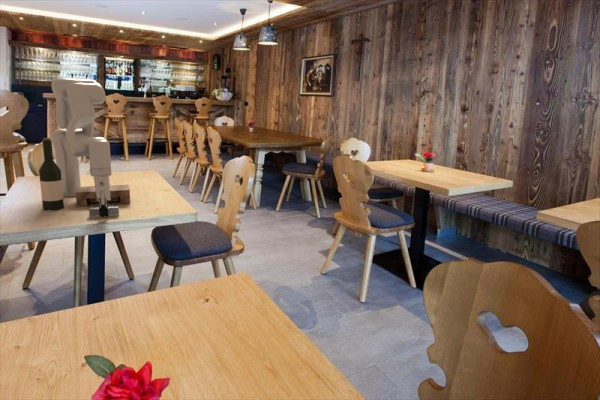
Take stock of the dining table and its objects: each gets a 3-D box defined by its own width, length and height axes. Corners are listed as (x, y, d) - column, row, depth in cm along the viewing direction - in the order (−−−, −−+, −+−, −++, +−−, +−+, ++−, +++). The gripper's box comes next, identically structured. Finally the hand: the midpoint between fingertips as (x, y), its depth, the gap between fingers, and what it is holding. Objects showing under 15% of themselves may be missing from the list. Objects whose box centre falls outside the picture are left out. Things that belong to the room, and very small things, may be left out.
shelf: (76, 206, 193) (75, 192, 191) (78, 200, 204) (77, 186, 202) (130, 203, 202) (129, 189, 200) (128, 197, 212) (128, 184, 211)
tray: (89, 219, 178) (89, 209, 177) (90, 209, 192) (89, 200, 191) (119, 216, 182) (118, 207, 181) (117, 207, 197) (117, 198, 196)
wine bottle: (49, 211, 184) (41, 140, 177) (38, 208, 188) (30, 138, 181) (68, 208, 191) (62, 138, 184) (57, 204, 195) (51, 137, 188)
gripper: (111, 174, 166) (114, 221, 171) (111, 167, 180) (113, 211, 184) (89, 175, 163) (93, 222, 168) (90, 168, 177) (94, 212, 181)
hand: (104, 216), depth 176 cm, fingers closed
